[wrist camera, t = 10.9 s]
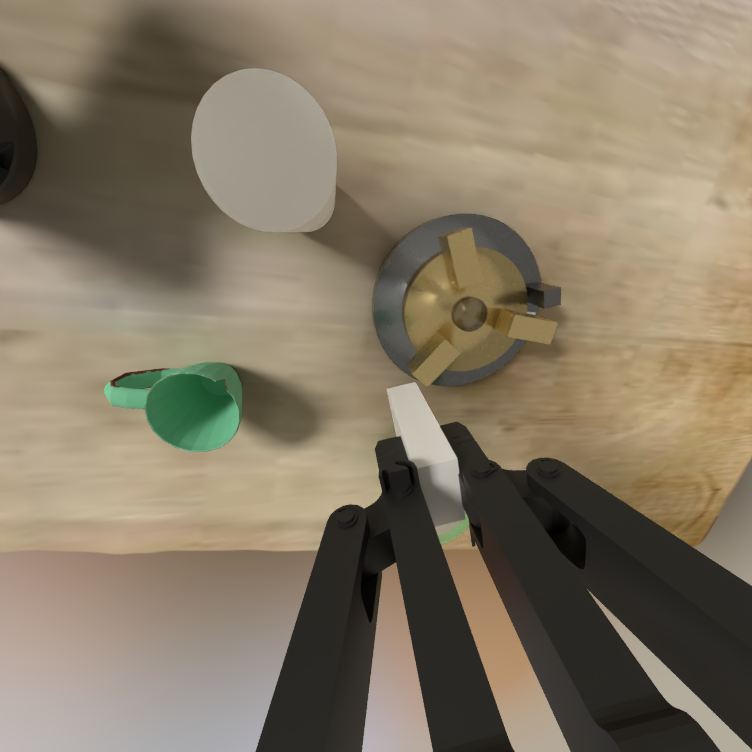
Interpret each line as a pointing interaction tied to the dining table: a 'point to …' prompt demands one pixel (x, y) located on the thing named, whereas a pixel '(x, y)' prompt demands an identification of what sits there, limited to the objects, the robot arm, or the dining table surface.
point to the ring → (422, 247)
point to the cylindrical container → (265, 152)
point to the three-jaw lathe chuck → (466, 309)
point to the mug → (184, 403)
